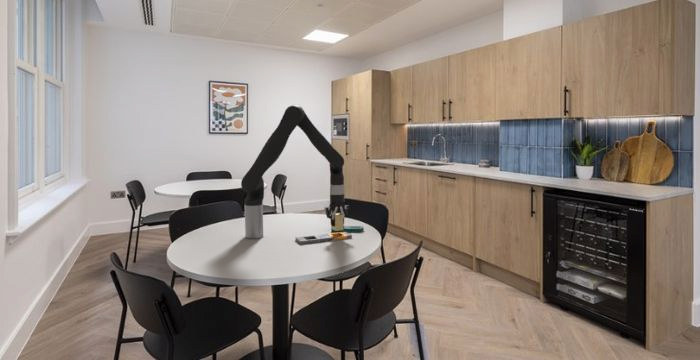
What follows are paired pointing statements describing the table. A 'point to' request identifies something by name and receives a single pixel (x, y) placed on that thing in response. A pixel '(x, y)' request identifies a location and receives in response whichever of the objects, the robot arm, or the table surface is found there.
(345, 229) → the bracket
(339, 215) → the block
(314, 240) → the rail
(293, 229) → the table surface
